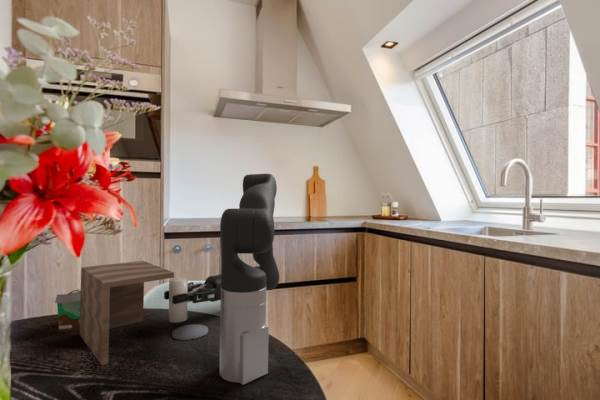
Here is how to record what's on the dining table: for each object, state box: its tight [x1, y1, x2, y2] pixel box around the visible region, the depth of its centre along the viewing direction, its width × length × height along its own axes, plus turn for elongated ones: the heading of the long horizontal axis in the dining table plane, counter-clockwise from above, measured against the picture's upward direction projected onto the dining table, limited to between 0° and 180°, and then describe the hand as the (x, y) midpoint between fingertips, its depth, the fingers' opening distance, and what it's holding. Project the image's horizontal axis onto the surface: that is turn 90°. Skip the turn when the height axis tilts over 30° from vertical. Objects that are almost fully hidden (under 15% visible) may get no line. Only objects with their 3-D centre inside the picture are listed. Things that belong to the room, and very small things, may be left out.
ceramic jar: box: [168, 277, 189, 324], centre depth 88 cm, size 5×5×11 cm
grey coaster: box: [171, 324, 209, 341], centre depth 83 cm, size 9×9×1 cm
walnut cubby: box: [79, 260, 175, 366], centre depth 79 cm, size 21×15×17 cm
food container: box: [54, 288, 81, 333], centre depth 87 cm, size 12×6×10 cm, turn 179°
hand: (169, 297), depth 86 cm, fingers closed on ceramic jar, 4 cm apart
